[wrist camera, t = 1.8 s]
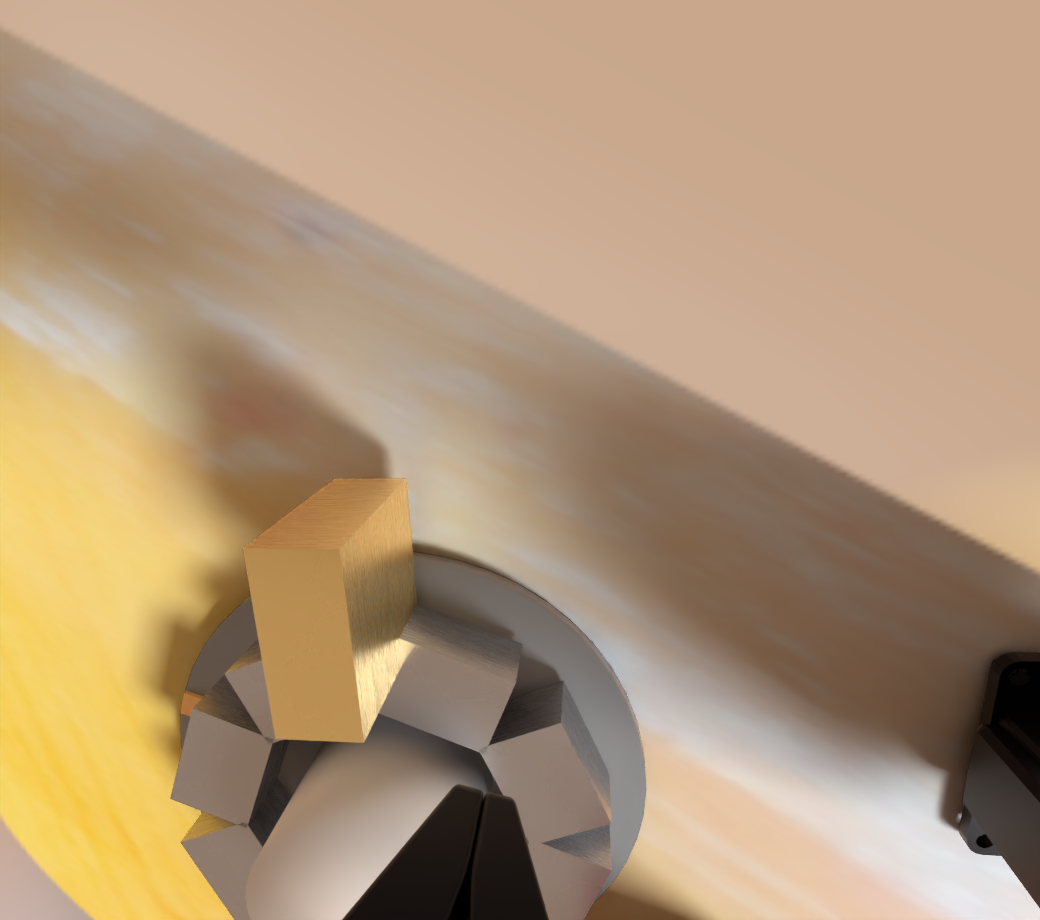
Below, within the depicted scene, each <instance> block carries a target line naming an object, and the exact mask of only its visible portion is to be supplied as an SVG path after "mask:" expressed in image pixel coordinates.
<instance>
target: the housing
mask: <svg viewBox="0 0 1040 920" xmlns="http://www.w3.org/2000/svg"><path fill="white" fill-rule="evenodd" d="M413 559H414V569H415V580H416V591H417V602H418V604H421V605H423V606H426V607H428V608H431V609H433V610H436V611H439V612H441V613H444V614H446V615H449V616H452V617H454V618H457V619H459V620H462V621H465V622H467V623H470V624H472V625H475V626H477V627H480V628H483V629H485V630H488V631H490V632H493V633H496V634H498V635H501V636H503V637H506V638H508V639H511V640H514V641H516V642H519V643H521V644H523V645H522V650H521V656H520V662H519V667H518V673H517V678H516V684H515V686H514V688H513V691H512V693H511V695H510V697H513V696H516V695H519V694H522V693H526V692H529V691H532V690H535V689H538V688H541V687H544V686H547V685H550V684H553V683H556V682H559V681H562V680H564V682H565V684H566V686H567V688H568V690H569V692H570V694H571V696H572V698H573V700H574V702H575V704H576V706H577V708H578V710H579V712H580V714H581V716H582V718H583V721H584V723H585V725H586V727H587V729H588V731H589V733H590V735H591V737H592V739H593V741H594V743H595V745H596V747H597V749H598V751H599V753H600V755H601V757H602V759H603V761H604V763H605V765H606V767H607V769H608V771H609V777H610V798H611V819H612V824H610V846H611V869H612V870H611V872H610V874H609V876H608V878H607V879H606V881H605V883H604V885H603V887H602V888H601V890H600V892H599V894H598V896H597V897H596V899H595V901H596V900H597V899H598V898H599V897H600V896H601V895H602V894H603V892H604V891H605V890H606V889H607V888H608V887H609V886H610V885H611V884H612V883H613V881H614V880H615V878H616V877H617V875H618V874H619V872H620V871H621V869H622V868H623V866H624V865H625V863H626V862H627V860H628V857H629V855H630V853H631V851H632V849H633V847H634V844H635V842H636V840H637V837H638V833H639V830H640V826H641V822H642V819H643V815H644V806H645V796H646V776H645V761H644V753H643V746H642V741H641V737H640V732H639V728H638V723H637V720H636V717H635V714H634V712H633V709H632V707H631V704H630V701H629V699H628V696H627V694H626V692H625V690H624V688H623V687H622V685H621V683H620V681H619V679H618V678H617V676H616V674H615V672H614V671H613V669H612V667H611V666H610V665H609V663H608V662H607V661H606V659H605V658H604V657H603V655H602V654H601V653H600V651H599V650H598V649H597V647H596V646H595V645H594V644H593V643H592V642H591V641H590V640H589V639H588V638H587V636H586V635H585V634H584V633H583V632H582V631H581V630H580V629H579V628H578V627H577V626H576V625H575V624H574V623H573V622H572V621H571V620H569V619H568V618H567V617H566V616H564V615H563V614H562V613H560V612H559V611H558V610H557V609H555V608H554V607H553V606H552V605H550V604H549V603H548V602H547V601H545V600H543V599H542V598H540V597H539V596H537V595H535V594H534V593H532V592H530V591H529V590H527V589H525V588H524V587H522V586H521V585H519V584H517V583H515V582H513V581H511V580H508V579H506V578H504V577H502V576H500V575H497V574H495V573H493V572H491V571H489V570H486V569H483V568H480V567H477V566H474V565H471V564H468V563H465V562H461V561H458V560H455V559H450V558H445V557H440V556H435V555H430V554H425V553H415V552H413ZM257 639H258V634H257V628H256V623H255V617H254V611H253V605H252V599H251V596H249V597H248V598H247V599H246V600H245V601H244V602H243V603H242V604H241V605H240V606H239V607H237V608H236V609H235V610H234V611H233V612H232V613H231V614H230V615H229V616H228V617H227V618H226V619H225V620H224V621H223V622H222V623H221V624H220V625H219V626H218V628H217V629H216V630H215V632H214V633H213V634H212V636H211V637H210V638H209V640H208V641H207V642H206V644H205V645H204V647H203V649H202V651H201V652H200V654H199V656H198V658H197V660H196V662H195V664H194V666H193V668H192V671H191V674H190V677H189V680H188V683H187V686H186V689H185V692H184V694H183V700H182V705H181V711H180V713H181V745H182V749H183V745H184V741H185V737H186V733H187V729H188V725H189V721H190V717H191V713H192V709H193V707H194V706H195V705H196V704H197V703H198V702H199V701H200V700H201V699H202V698H203V697H204V696H205V695H206V694H207V692H208V691H209V690H210V689H211V688H212V687H213V686H214V685H215V684H216V683H217V682H218V681H219V680H220V679H221V677H222V676H223V675H224V674H225V673H226V672H227V671H228V670H229V668H230V667H231V666H232V665H233V664H234V663H235V662H236V661H237V660H238V659H239V658H240V657H241V656H242V655H243V654H244V652H245V651H246V650H247V649H248V648H249V647H250V646H251V645H252V644H253V643H254V642H255V641H256V640H257ZM510 697H509V698H510ZM278 779H279V781H280V782H281V784H282V785H283V787H284V788H285V790H286V792H287V793H288V795H289V796H290V798H291V800H290V801H289V803H288V805H287V806H286V808H285V810H284V812H283V813H282V815H281V817H280V819H279V820H278V822H277V824H276V826H275V827H274V829H273V831H272V832H271V834H270V836H269V838H268V839H267V841H266V843H265V845H264V846H263V848H262V850H261V852H260V853H259V855H258V857H257V858H256V860H255V862H254V864H253V865H252V868H251V870H250V873H249V875H248V879H247V883H246V895H245V898H246V906H247V911H248V914H249V918H250V920H342V919H343V918H344V917H345V915H346V914H347V913H348V912H349V911H350V909H351V908H352V907H353V906H354V905H355V903H356V902H357V901H358V900H359V899H360V897H361V896H362V895H363V894H364V893H365V891H366V890H367V889H368V888H369V887H370V885H371V884H372V883H373V882H374V881H375V879H376V878H377V877H378V876H379V875H380V873H381V872H382V871H383V870H384V869H385V867H386V866H387V865H388V864H389V863H390V861H391V860H392V859H393V858H394V857H395V855H396V854H397V853H398V852H399V851H400V849H401V848H402V847H403V846H404V845H405V844H406V842H407V841H408V840H409V839H410V838H411V836H412V835H413V834H414V833H415V832H416V830H417V829H418V828H419V827H420V826H421V824H422V823H423V822H424V821H425V820H426V818H427V817H428V816H429V815H430V814H431V812H432V811H433V810H434V809H435V808H436V806H437V805H438V804H439V803H440V802H441V800H442V799H443V798H444V797H445V796H446V794H447V793H448V792H449V791H450V790H451V788H452V787H454V786H455V785H457V784H461V785H465V786H469V787H473V788H477V789H480V790H482V791H483V794H484V796H485V794H486V793H488V792H492V793H496V794H500V795H503V794H502V792H501V790H500V788H499V786H498V785H497V783H496V781H495V779H494V777H493V775H492V773H491V772H490V770H489V768H488V766H487V764H486V762H485V761H484V759H483V757H482V755H481V753H480V752H477V751H475V750H472V749H469V748H467V747H464V746H462V745H459V744H456V743H454V742H451V741H449V740H446V739H444V738H441V737H438V736H436V735H433V734H431V733H428V732H425V731H423V730H420V729H418V728H415V727H412V726H410V725H407V724H405V723H402V722H400V721H397V720H394V719H392V718H389V717H387V716H384V715H381V714H379V713H378V715H377V717H376V720H375V722H374V724H373V726H372V728H371V730H370V732H369V734H368V736H367V738H366V740H365V742H364V743H355V742H332V741H310V740H289V743H288V746H287V750H286V753H285V756H284V759H283V762H282V766H281V769H280V772H279V775H278ZM483 799H484V798H483ZM201 812H203V811H201ZM595 901H594V902H595Z"/></svg>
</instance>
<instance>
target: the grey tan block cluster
mask: <svg viewBox="0 0 1040 920" xmlns="http://www.w3.org/2000/svg"><path fill="white" fill-rule="evenodd" d="M243 553H244V559H245V564H246V570H247V576H248V582H249V588H250V594H251V599H252V605H253V611H254V617H255V623H256V628H257V634H258V639H257V640H256V641H255V642H254V643H253V644H252V645H251V646H250V647H249V648H248V649H247V650H246V651H245V652H244V654H243V655H242V656H241V657H240V658H239V659H238V660H237V661H236V662H235V663H234V664H233V665H232V666H231V667H230V668H229V670H228V671H227V672H226V673H225V674H224V675H223V676H222V677H221V679H220V680H219V681H218V682H217V683H216V684H215V685H214V686H213V687H212V688H211V689H210V690H209V691H208V692H207V694H206V695H205V696H204V697H203V698H202V699H201V700H200V701H199V702H198V703H197V704H196V705H195V706H194V707H193V709H192V713H191V717H190V721H189V725H188V729H187V733H186V737H185V741H184V745H183V749H182V753H181V757H180V761H179V765H178V769H177V773H176V778H175V782H174V786H173V790H172V794H171V798H170V799H172V800H175V801H178V802H180V803H183V804H185V805H188V806H190V807H193V808H196V809H198V810H201V811H203V812H202V814H201V815H200V816H199V818H198V819H197V820H196V822H195V823H194V825H193V826H192V827H191V829H190V830H189V831H188V833H187V834H186V836H185V837H184V838H183V840H182V841H181V844H182V845H183V847H184V848H185V850H186V851H187V852H188V854H189V855H190V857H191V858H192V860H193V861H194V862H195V864H196V865H197V867H198V868H199V870H200V871H201V872H202V874H203V875H204V877H205V878H206V880H207V881H208V882H209V884H210V885H211V887H212V888H213V890H214V891H215V893H216V894H217V895H218V897H219V898H220V900H221V901H222V903H223V904H224V905H225V907H226V908H227V910H228V911H229V913H230V914H231V915H232V917H233V918H234V920H250V918H249V914H248V911H247V906H246V898H245V895H246V883H247V879H248V875H249V873H250V870H251V868H252V865H253V864H254V862H255V860H256V858H257V857H258V855H259V853H260V852H261V850H262V848H263V846H264V845H265V843H266V841H267V839H268V838H269V836H270V834H271V832H272V831H273V829H274V827H275V826H276V824H277V822H278V820H279V819H280V817H281V815H282V813H283V812H284V810H285V808H286V806H287V805H288V803H289V801H290V800H291V798H290V796H289V795H288V793H287V792H286V790H285V788H284V787H283V785H282V784H281V782H280V781H279V779H278V775H279V772H280V769H281V766H282V762H283V759H284V756H285V753H286V750H287V746H288V743H289V740H310V741H332V742H355V743H364V742H365V740H366V738H367V736H368V734H369V732H370V730H371V728H372V726H373V724H374V722H375V720H376V717H377V715H378V713H379V714H381V715H384V716H387V717H389V718H392V719H394V720H397V721H400V722H402V723H405V724H407V725H410V726H412V727H415V728H418V729H420V730H423V731H425V732H428V733H431V734H433V735H436V736H438V737H441V738H444V739H446V740H449V741H451V742H454V743H456V744H459V745H462V746H464V747H467V748H469V749H472V750H475V751H477V752H480V753H481V755H482V757H483V759H484V761H485V762H486V764H487V766H488V768H489V770H490V772H491V773H492V775H493V777H494V779H495V781H496V783H497V785H498V786H499V788H500V790H501V792H502V794H503V795H504V796H508V797H511V798H513V799H514V800H515V802H516V805H517V808H518V812H519V815H520V819H521V822H522V826H523V829H524V833H525V836H526V840H527V843H528V847H529V850H530V854H531V857H532V861H533V864H534V868H535V871H536V875H537V878H538V882H539V885H540V889H541V892H542V896H543V899H544V902H545V906H546V909H547V913H548V916H549V920H584V919H585V917H586V915H587V914H588V912H589V910H590V908H591V906H592V905H593V903H594V901H595V899H596V897H597V896H598V894H599V892H600V890H601V888H602V887H603V885H604V883H605V881H606V879H607V878H608V876H609V874H610V872H611V870H612V869H611V846H610V824H612V819H611V798H610V777H609V771H608V769H607V767H606V765H605V763H604V761H603V759H602V757H601V755H600V753H599V751H598V749H597V747H596V745H595V743H594V741H593V739H592V737H591V735H590V733H589V731H588V729H587V727H586V725H585V723H584V721H583V718H582V716H581V714H580V712H579V710H578V708H577V706H576V704H575V702H574V700H573V698H572V696H571V694H570V692H569V690H568V688H567V686H566V684H565V682H564V680H562V681H559V682H556V683H553V684H550V685H547V686H544V687H541V688H538V689H535V690H532V691H529V692H526V693H522V694H519V695H516V696H513V697H510V695H511V693H512V691H513V688H514V686H515V684H516V678H517V673H518V667H519V662H520V656H521V650H522V645H523V644H521V643H519V642H516V641H514V640H511V639H508V638H506V637H503V636H501V635H498V634H496V633H493V632H490V631H488V630H485V629H483V628H480V627H477V626H475V625H472V624H470V623H467V622H465V621H462V620H459V619H457V618H454V617H452V616H449V615H446V614H444V613H441V612H439V611H436V610H433V609H431V608H428V607H426V606H423V605H421V604H418V602H417V591H416V580H415V569H414V559H413V548H412V537H411V526H410V515H409V504H408V493H407V482H406V478H371V479H333V480H332V481H330V482H329V483H328V484H326V485H325V486H324V487H323V488H321V489H320V490H319V491H317V492H316V493H315V494H313V495H312V496H311V497H309V498H308V499H307V500H305V501H304V502H303V503H302V504H300V505H299V506H298V507H296V508H295V509H294V510H292V511H291V512H290V513H288V514H287V515H286V516H284V517H283V518H282V519H280V520H279V521H278V522H277V523H275V524H274V525H273V526H271V527H270V528H269V529H267V530H266V531H265V532H263V533H262V534H261V535H259V536H258V537H257V538H256V539H254V540H253V541H252V542H250V543H249V544H248V545H246V546H245V547H244V548H243ZM509 697H510V698H509Z"/></svg>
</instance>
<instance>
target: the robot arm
mask: <svg viewBox="0 0 1040 920" xmlns="http://www.w3.org/2000/svg"><path fill="white" fill-rule="evenodd" d="M1019 669H1020V670H1019ZM1015 670H1019V672H1018V673H1017V674H1016V675H1014V676H1010V675H1011V673H1012V672H1014V671H1015ZM483 798H484V799H483ZM963 803H964V806H963V812H962V817H961V822H960V827H959V833H960V835H961V837H962V838H963V840H964V841H965V843H966V844H967V845H968V847H969V848H970V850H971V851H973V852H975V853H977V854H982V855H996V856H1002V857H1003V858H1004V860H1005V861H1006V862H1007V864H1008V865H1009V867H1010V868H1011V869H1012V871H1013V872H1014V873H1015V875H1016V876H1017V877H1018V879H1019V880H1020V882H1021V883H1022V884H1023V886H1024V887H1025V888H1026V890H1027V891H1028V893H1029V894H1030V895H1031V897H1032V898H1033V899H1034V901H1035V902H1036V904H1037V905H1038V906H1039V908H1040V653H1014V652H1013V653H1006V654H1003V655H1001V656H999V657H998V658H997V659H995V660H994V661H993V663H992V665H991V667H990V672H989V677H988V682H987V687H986V693H985V698H984V703H983V708H982V713H981V719H980V724H979V728H978V730H977V731H976V733H975V738H974V743H973V748H972V753H971V758H970V764H969V769H968V774H967V779H966V784H965V790H964V795H963ZM342 920H549V916H548V913H547V909H546V906H545V902H544V899H543V896H542V892H541V889H540V885H539V882H538V878H537V875H536V871H535V868H534V864H533V861H532V857H531V854H530V850H529V847H528V843H527V840H526V836H525V833H524V829H523V826H522V822H521V819H520V815H519V812H518V808H517V805H516V802H515V800H514V799H513V798H511V797H508V796H504V795H500V794H496V793H492V792H488V793H486V794H485V796H484V794H483V791H482V790H480V789H477V788H473V787H469V786H465V785H461V784H457V785H455V786H454V787H452V788H451V790H450V791H449V792H448V793H447V794H446V796H445V797H444V798H443V799H442V800H441V802H440V803H439V804H438V805H437V806H436V808H435V809H434V810H433V811H432V812H431V814H430V815H429V816H428V817H427V818H426V820H425V821H424V822H423V823H422V824H421V826H420V827H419V828H418V829H417V830H416V832H415V833H414V834H413V835H412V836H411V838H410V839H409V840H408V841H407V842H406V844H405V845H404V846H403V847H402V848H401V849H400V851H399V852H398V853H397V854H396V855H395V857H394V858H393V859H392V860H391V861H390V863H389V864H388V865H387V866H386V867H385V869H384V870H383V871H382V872H381V873H380V875H379V876H378V877H377V878H376V879H375V881H374V882H373V883H372V884H371V885H370V887H369V888H368V889H367V890H366V891H365V893H364V894H363V895H362V896H361V897H360V899H359V900H358V901H357V902H356V903H355V905H354V906H353V907H352V908H351V909H350V911H349V912H348V913H347V914H346V915H345V917H344V918H343V919H342Z"/></svg>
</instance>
